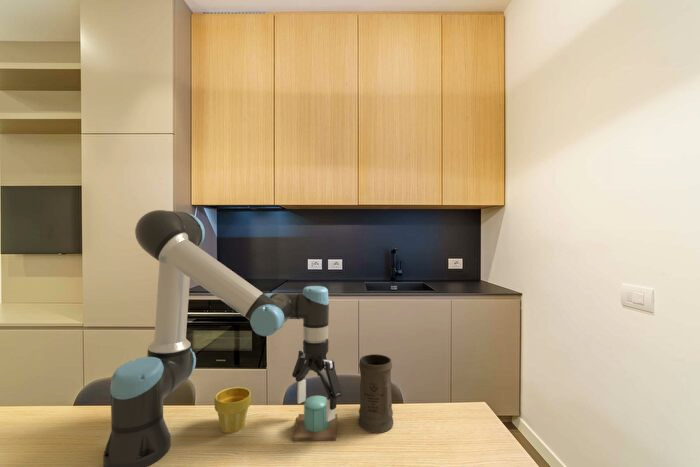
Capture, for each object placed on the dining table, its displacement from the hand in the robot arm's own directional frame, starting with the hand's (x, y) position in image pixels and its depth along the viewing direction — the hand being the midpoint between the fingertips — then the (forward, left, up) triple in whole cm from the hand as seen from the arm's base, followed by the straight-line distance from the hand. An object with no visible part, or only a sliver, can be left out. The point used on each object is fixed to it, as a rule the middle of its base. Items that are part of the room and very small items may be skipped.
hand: (315, 410), depth 101 cm
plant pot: (-25, +1, -6) cm, 26 cm away
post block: (0, 0, -5) cm, 5 cm away
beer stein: (+18, +5, -6) cm, 20 cm away
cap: (0, 0, -4) cm, 4 cm away
